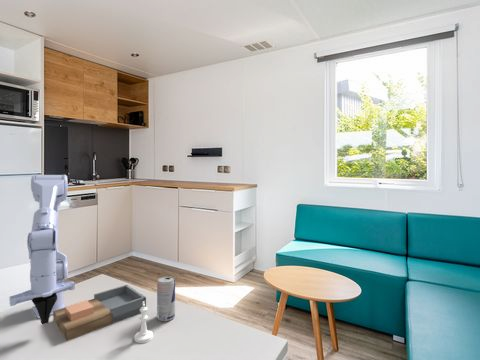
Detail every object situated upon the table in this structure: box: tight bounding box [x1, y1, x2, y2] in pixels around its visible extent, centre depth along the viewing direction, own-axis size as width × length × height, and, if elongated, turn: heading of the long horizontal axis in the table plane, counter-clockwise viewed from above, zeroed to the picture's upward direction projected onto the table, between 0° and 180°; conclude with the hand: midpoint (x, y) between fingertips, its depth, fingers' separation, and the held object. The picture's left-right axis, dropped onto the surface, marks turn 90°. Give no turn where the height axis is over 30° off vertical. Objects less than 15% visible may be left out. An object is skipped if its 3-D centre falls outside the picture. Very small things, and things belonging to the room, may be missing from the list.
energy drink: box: [156, 275, 176, 322], centre depth 88 cm, size 5×5×12 cm
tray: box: [93, 284, 147, 324], centre depth 92 cm, size 14×11×4 cm
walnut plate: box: [52, 298, 114, 342], centre depth 85 cm, size 14×12×3 cm
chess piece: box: [133, 301, 154, 344], centre depth 77 cm, size 5×5×10 cm
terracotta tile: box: [65, 299, 94, 321], centre depth 84 cm, size 6×6×2 cm
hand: (44, 322), depth 78 cm, fingers closed
